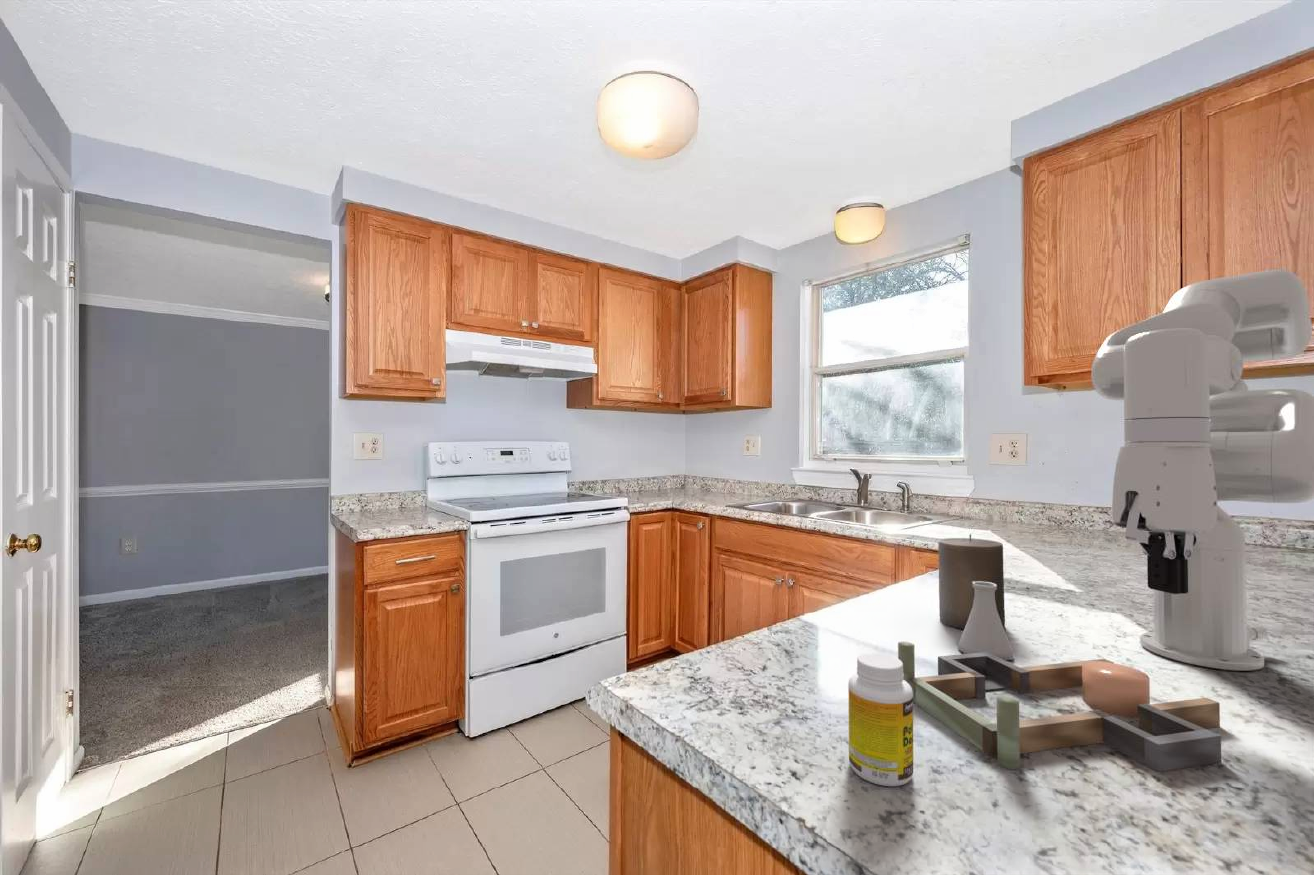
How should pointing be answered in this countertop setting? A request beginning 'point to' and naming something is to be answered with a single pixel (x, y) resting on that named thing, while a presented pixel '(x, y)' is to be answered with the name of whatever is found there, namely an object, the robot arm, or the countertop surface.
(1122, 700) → the short salmon cylinder
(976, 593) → the flask
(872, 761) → the supplement bottle
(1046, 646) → the countertop surface
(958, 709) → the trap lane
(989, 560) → the pillar candle
